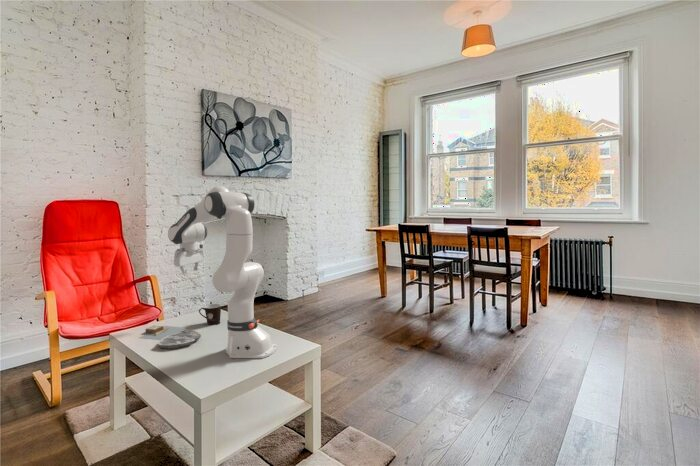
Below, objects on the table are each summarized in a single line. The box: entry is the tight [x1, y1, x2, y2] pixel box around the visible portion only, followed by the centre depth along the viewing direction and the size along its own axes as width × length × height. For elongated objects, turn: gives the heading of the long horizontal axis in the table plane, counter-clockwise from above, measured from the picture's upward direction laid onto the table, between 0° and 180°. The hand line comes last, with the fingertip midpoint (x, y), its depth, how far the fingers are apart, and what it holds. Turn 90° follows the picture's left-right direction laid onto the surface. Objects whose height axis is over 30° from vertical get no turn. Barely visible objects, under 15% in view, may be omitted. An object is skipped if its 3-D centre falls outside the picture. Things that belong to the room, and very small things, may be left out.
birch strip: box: [155, 328, 169, 336], centre depth 189 cm, size 1×9×1 cm, turn 166°
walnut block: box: [144, 325, 164, 334], centre depth 190 cm, size 2×6×6 cm
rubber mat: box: [138, 325, 187, 341], centre depth 189 cm, size 14×18×1 cm
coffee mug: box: [198, 303, 222, 326], centre depth 203 cm, size 12×9×10 cm
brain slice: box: [156, 329, 202, 350], centre depth 176 cm, size 20×17×3 cm
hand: (190, 272), depth 199 cm, fingers open, 8 cm apart
